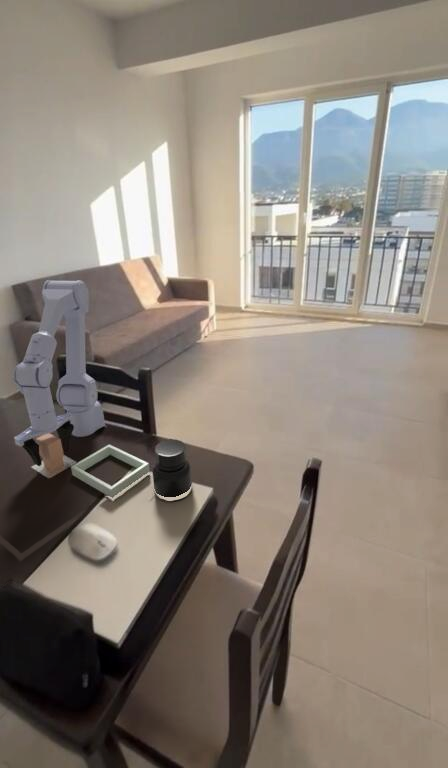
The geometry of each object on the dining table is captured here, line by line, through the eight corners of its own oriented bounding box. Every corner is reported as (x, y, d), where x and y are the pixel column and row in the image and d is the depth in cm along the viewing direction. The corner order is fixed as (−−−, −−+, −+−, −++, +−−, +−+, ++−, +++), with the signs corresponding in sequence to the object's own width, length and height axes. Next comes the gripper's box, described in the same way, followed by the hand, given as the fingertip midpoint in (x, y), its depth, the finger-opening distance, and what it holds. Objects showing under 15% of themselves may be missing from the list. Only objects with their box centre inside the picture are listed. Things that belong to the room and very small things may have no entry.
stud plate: (59, 455, 105) (57, 444, 104) (77, 465, 101) (75, 454, 99) (31, 470, 99) (28, 458, 98) (49, 481, 95) (46, 470, 94)
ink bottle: (192, 475, 97) (189, 434, 92) (195, 499, 89) (193, 456, 84) (152, 480, 95) (148, 439, 90) (152, 505, 87) (147, 461, 82)
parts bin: (110, 455, 105) (109, 444, 103) (150, 474, 97) (148, 463, 96) (73, 478, 96) (70, 466, 95) (113, 501, 88) (111, 489, 87)
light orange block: (54, 458, 102) (48, 432, 99) (66, 464, 100) (60, 438, 96) (42, 464, 100) (35, 438, 96) (54, 471, 97) (47, 445, 94)
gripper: (58, 394, 100) (67, 439, 106) (2, 417, 90) (15, 465, 95) (75, 401, 97) (83, 447, 102) (18, 425, 86) (31, 475, 92)
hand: (52, 456), depth 99 cm, fingers open, 7 cm apart
